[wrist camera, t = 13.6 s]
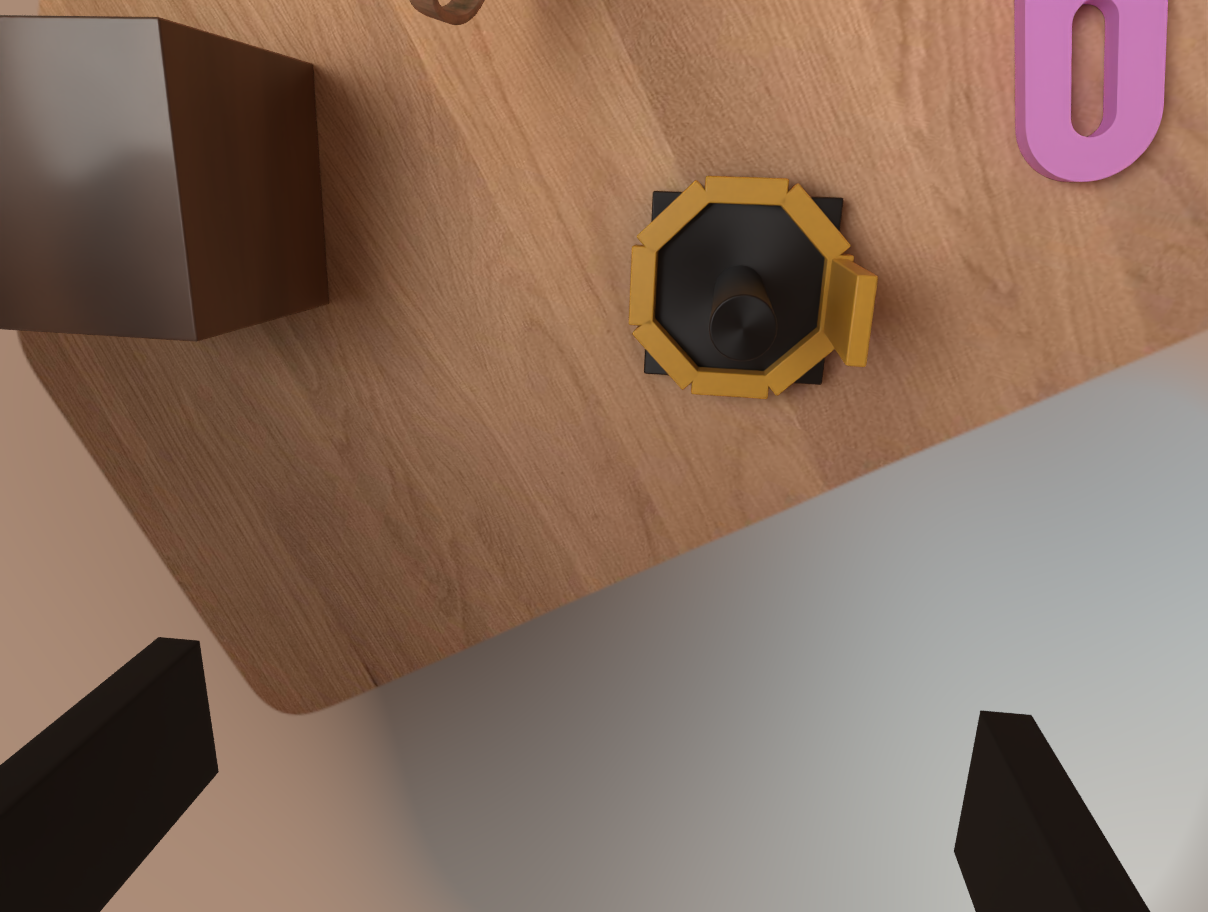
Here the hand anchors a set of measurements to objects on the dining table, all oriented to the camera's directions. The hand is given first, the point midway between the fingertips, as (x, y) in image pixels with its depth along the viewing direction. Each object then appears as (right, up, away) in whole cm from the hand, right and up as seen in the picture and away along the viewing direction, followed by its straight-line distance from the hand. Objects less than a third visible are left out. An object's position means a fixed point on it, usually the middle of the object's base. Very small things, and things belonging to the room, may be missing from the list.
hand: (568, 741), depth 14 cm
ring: (+7, +13, +27) cm, 31 cm away
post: (+7, +13, +28) cm, 32 cm away
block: (-19, +19, +30) cm, 41 cm away
